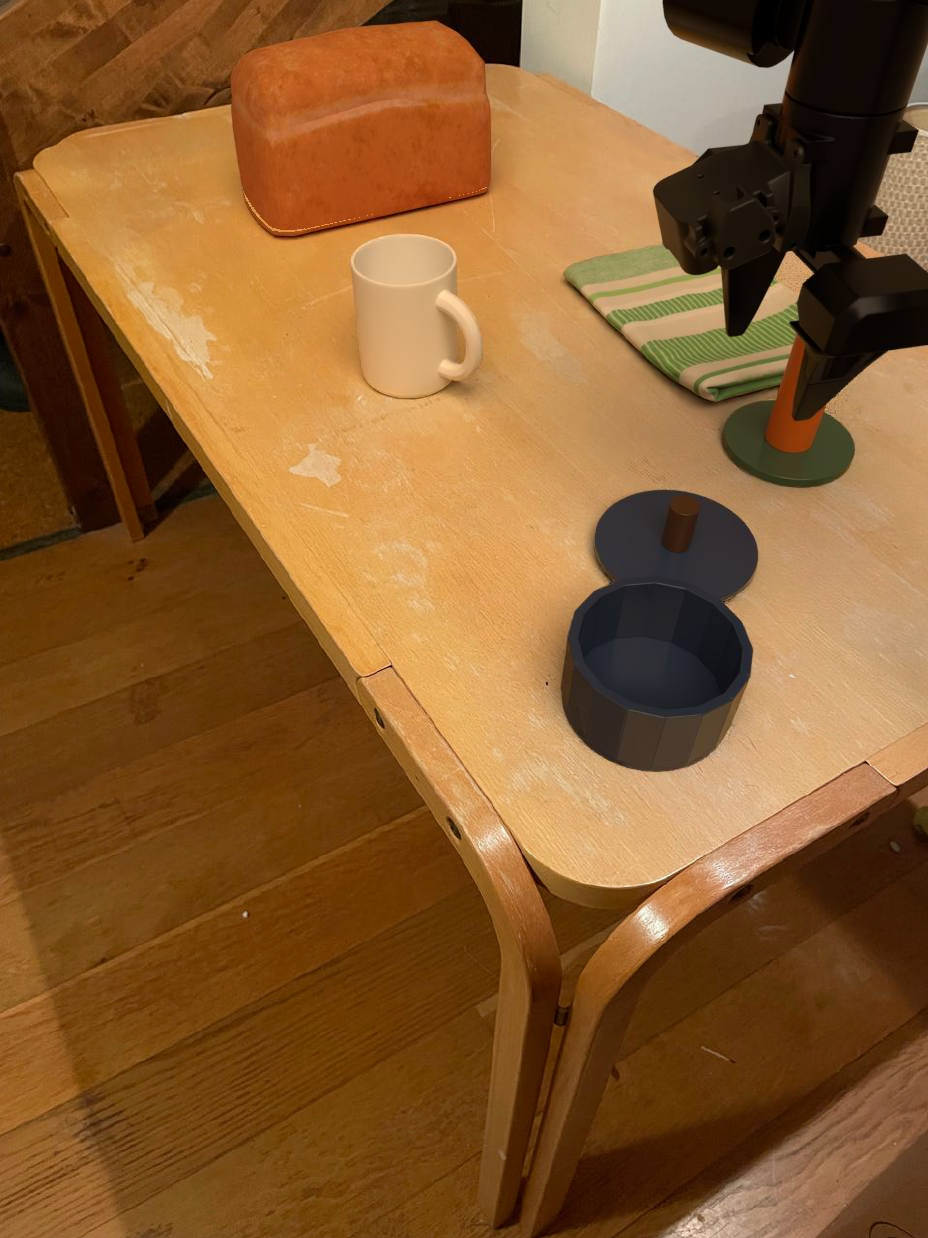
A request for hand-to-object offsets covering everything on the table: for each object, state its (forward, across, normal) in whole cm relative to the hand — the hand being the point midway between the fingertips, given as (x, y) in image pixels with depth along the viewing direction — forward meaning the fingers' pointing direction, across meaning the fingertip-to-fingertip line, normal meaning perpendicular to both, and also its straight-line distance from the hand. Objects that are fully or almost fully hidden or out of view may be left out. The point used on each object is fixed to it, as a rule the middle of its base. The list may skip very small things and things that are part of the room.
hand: (765, 374), depth 55 cm
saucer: (+13, -8, +9) cm, 17 cm away
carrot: (+12, -8, +9) cm, 17 cm away
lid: (+12, +2, -4) cm, 13 cm away
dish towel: (+13, -26, +10) cm, 30 cm away
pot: (+13, +13, -11) cm, 21 cm away
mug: (+13, -23, -17) cm, 31 cm away
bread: (+12, -59, -17) cm, 62 cm away
